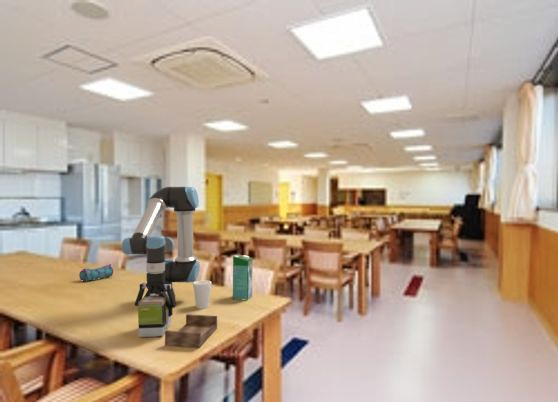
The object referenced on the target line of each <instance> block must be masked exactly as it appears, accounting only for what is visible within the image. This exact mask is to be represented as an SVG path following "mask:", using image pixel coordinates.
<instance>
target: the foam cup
mask: <svg viewBox="0 0 558 402" xmlns="http://www.w3.org/2000/svg"><path fill="white" fill-rule="evenodd" d="M192 284H193V291H194V300H195V301H194V302H195V306H196V308H197V309H207V308H209V303H210V296H211V291H212V281H210V280H204V279H202V280H196V281H195V282H192Z"/></svg>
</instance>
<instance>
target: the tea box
mask: <svg viewBox="0 0 558 402" xmlns="http://www.w3.org/2000/svg"><path fill="white" fill-rule="evenodd" d="M166 295H167V296H168V293H167V292H166ZM168 298H169V297H168ZM165 299H166V297H165V298H164V297H161V296H160V295H159V294H151V295H149V296H148V297H144V296H143V297H142V299H141V300H140V301H139V302H138V306H137V311H138V313H137V314H138V315H137V317H138V318H137V319H138V323H137V325H138V326H137V327H138V337H140V338H146V337H147V338H149V337H150V338H151V337H163V336H164V335H165V331H166V330H168V328H169V327H170V326H171V323H172V322H171V323H169V324H168V325H166V309H167V306H166V300H165Z"/></svg>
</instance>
